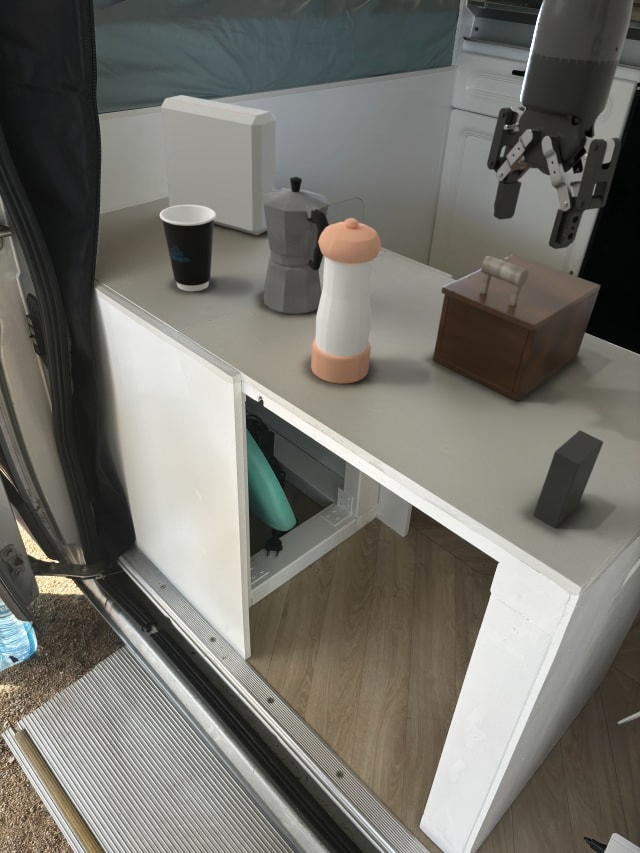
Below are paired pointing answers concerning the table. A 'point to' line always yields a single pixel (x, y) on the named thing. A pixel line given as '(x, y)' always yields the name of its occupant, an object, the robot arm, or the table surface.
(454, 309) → the chest
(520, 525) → the table surface
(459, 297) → the lid
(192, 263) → the dixie cup
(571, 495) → the tall charcoal box
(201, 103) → the bevelled white case
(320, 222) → the coffeepot
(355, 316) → the pepper shaker
